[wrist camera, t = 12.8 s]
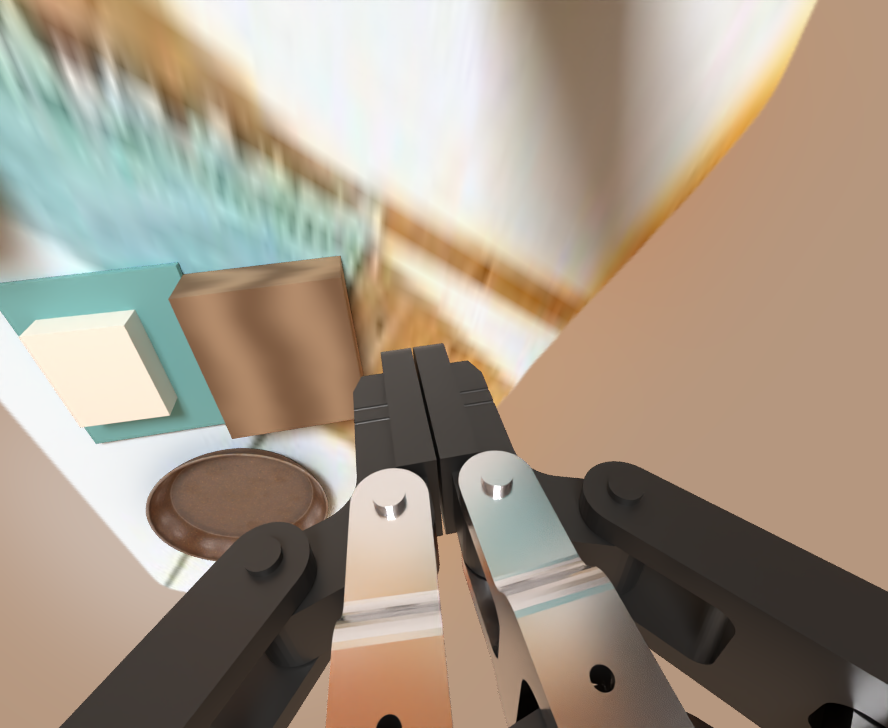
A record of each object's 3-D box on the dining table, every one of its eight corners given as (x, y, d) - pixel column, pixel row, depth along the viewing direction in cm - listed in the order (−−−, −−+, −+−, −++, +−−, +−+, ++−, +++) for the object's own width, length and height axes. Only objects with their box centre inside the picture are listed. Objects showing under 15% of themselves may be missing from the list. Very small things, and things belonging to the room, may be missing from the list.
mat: (177, 262, 35) (175, 265, 35) (243, 416, 45) (242, 420, 44) (-12, 284, 33) (-16, 288, 33) (98, 439, 43) (96, 443, 43)
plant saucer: (286, 412, 46) (284, 434, 43) (351, 512, 57) (351, 533, 54) (115, 466, 46) (103, 491, 43) (213, 555, 57) (207, 579, 54)
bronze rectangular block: (340, 255, 37) (340, 277, 34) (366, 389, 46) (368, 416, 42) (183, 274, 36) (168, 299, 32) (239, 408, 44) (232, 438, 41)
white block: (18, 337, 33) (35, 319, 35) (80, 427, 39) (92, 408, 40) (123, 325, 34) (135, 309, 36) (169, 415, 39) (177, 397, 41)
